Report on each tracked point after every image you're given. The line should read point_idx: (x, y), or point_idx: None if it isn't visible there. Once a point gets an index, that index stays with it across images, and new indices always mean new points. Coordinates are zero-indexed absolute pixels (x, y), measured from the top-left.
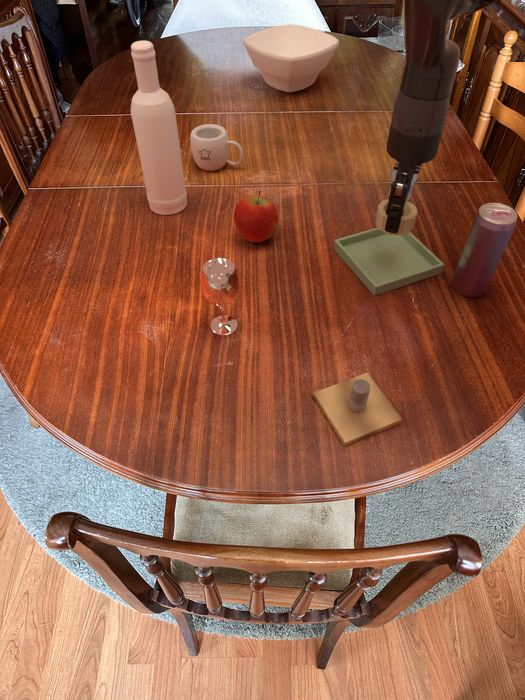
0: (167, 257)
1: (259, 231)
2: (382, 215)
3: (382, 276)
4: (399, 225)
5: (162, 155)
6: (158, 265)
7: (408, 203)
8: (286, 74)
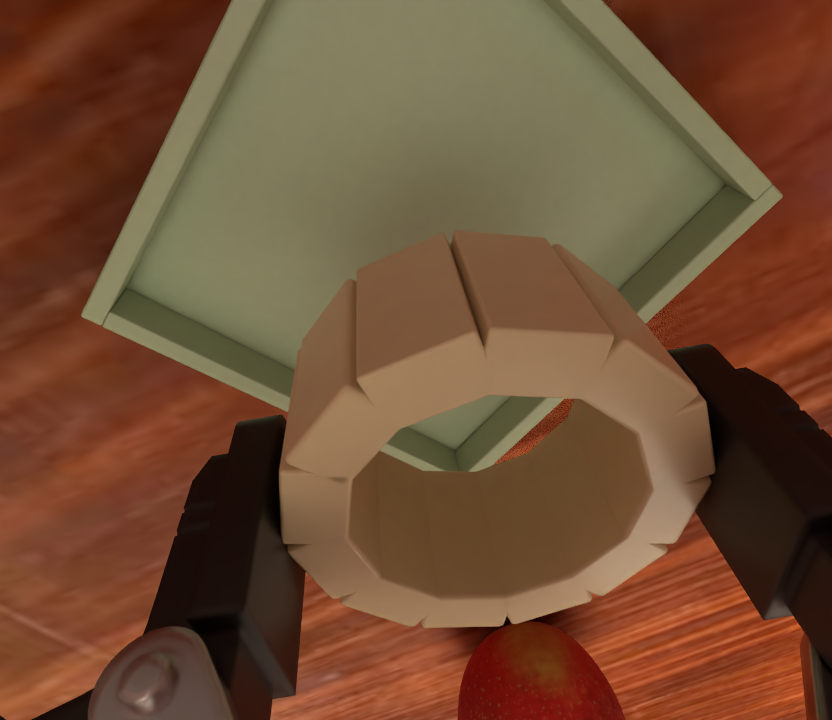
0: (678, 701)
1: (607, 686)
2: (650, 558)
3: (593, 196)
4: (746, 392)
5: None
6: (713, 698)
7: (324, 473)
8: None
